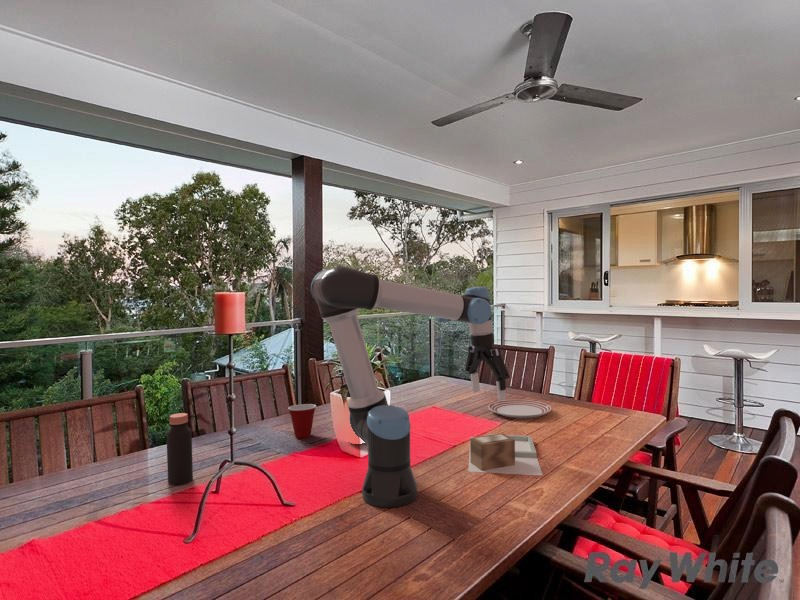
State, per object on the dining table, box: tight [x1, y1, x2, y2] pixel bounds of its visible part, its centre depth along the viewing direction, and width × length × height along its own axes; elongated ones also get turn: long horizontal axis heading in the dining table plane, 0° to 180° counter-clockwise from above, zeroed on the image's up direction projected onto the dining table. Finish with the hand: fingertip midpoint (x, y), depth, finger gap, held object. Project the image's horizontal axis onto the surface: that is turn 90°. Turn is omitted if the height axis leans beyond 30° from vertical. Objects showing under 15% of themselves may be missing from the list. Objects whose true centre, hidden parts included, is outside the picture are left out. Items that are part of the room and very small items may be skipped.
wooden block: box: [469, 432, 515, 471], centre depth 145 cm, size 12×7×8 cm, turn 110°
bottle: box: [166, 412, 194, 487], centre depth 137 cm, size 7×7×20 cm
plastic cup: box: [287, 403, 317, 440], centre depth 176 cm, size 11×11×12 cm
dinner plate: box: [487, 399, 553, 420], centre depth 204 cm, size 28×27×3 cm
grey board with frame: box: [467, 433, 543, 476], centre depth 154 cm, size 22×32×3 cm
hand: (488, 395), depth 153 cm, fingers open, 13 cm apart
